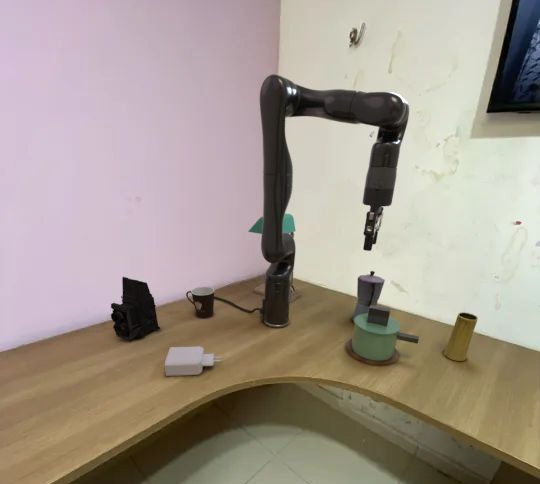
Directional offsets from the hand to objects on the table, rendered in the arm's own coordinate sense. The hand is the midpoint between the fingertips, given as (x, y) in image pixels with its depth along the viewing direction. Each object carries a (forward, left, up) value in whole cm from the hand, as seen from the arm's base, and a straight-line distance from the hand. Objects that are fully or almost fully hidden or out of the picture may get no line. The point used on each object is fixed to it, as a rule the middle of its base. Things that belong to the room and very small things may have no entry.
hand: (369, 247), depth 89 cm
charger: (-35, -38, -34) cm, 61 cm away
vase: (+29, +12, -33) cm, 46 cm away
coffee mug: (-58, -10, -33) cm, 68 cm away
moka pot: (-2, +19, -33) cm, 38 cm away
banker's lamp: (-45, +24, -33) cm, 61 cm away
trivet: (+6, 0, -33) cm, 34 cm away
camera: (-65, -35, -33) cm, 81 cm away
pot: (+9, 0, -32) cm, 33 cm away
